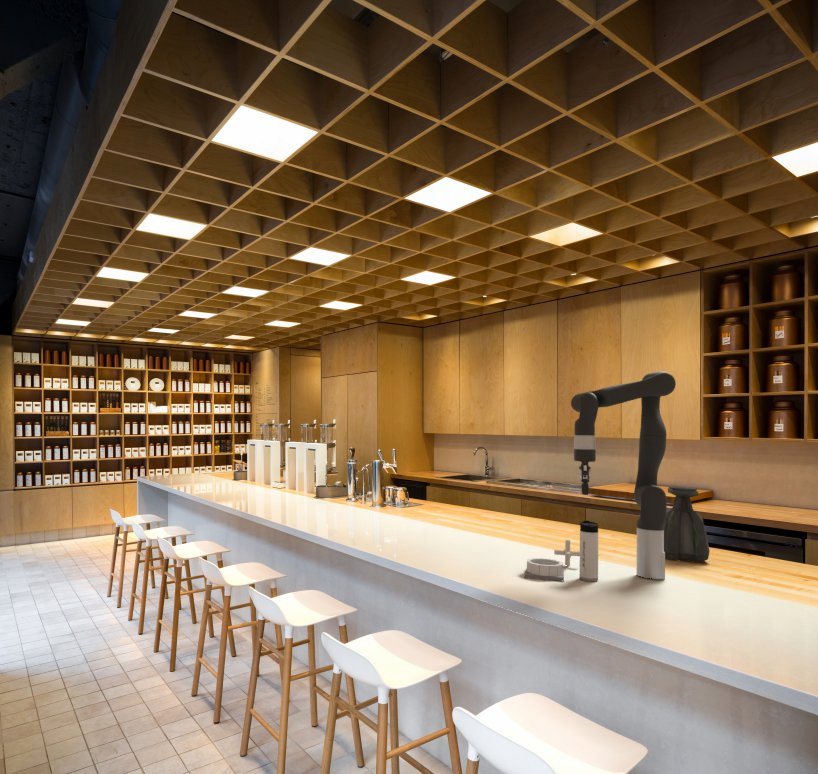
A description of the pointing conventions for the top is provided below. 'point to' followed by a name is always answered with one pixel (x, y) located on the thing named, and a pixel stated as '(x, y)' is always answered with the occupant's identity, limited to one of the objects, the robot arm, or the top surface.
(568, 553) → the pipe connector
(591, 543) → the travel mug
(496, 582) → the top surface
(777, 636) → the top surface
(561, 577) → the duct collar
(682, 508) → the dark grey ribbed vase
